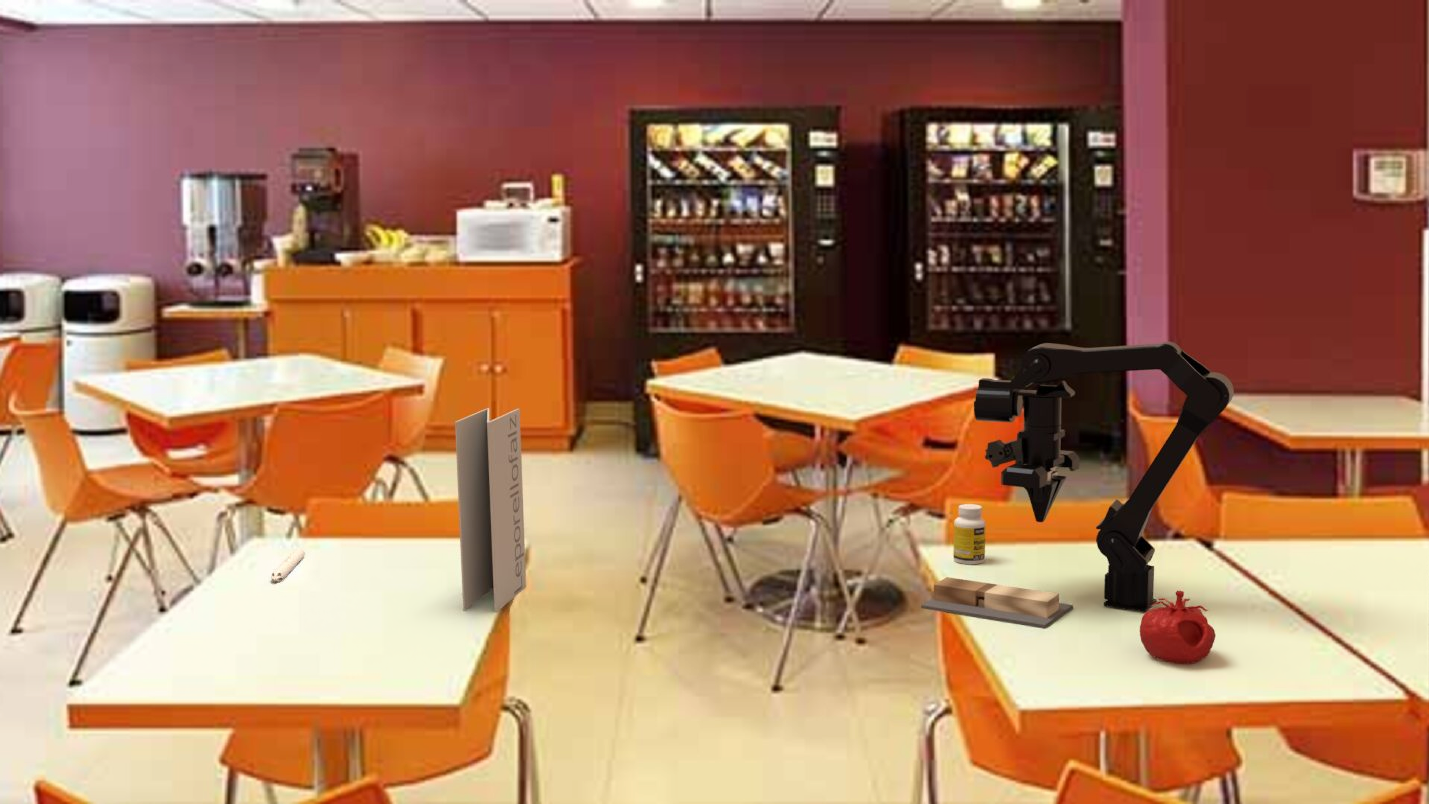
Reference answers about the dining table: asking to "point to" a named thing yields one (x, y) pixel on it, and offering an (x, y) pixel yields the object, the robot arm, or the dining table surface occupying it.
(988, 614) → the underlay mat
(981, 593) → the wooden block
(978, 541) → the supplement bottle
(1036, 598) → the birch plank
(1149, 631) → the pomegranate
